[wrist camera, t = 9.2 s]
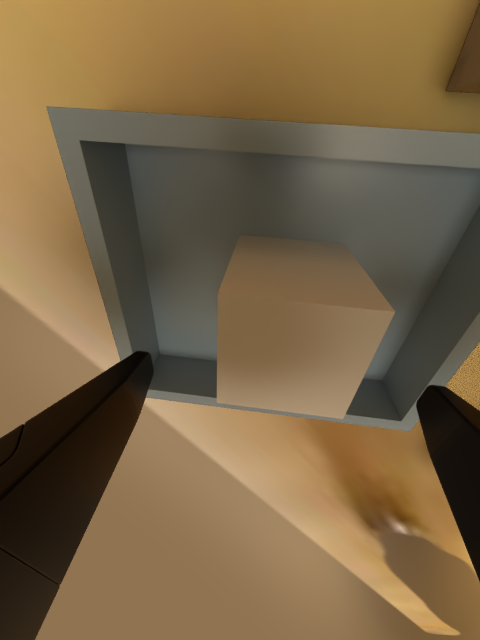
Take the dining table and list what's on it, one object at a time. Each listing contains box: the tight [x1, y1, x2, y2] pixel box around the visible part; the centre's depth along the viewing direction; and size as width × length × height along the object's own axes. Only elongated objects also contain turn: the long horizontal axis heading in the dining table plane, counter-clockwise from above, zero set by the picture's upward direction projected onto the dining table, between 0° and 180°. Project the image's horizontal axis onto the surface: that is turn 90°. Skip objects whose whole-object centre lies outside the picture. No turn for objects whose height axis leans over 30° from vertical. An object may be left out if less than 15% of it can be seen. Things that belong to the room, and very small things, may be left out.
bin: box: [46, 106, 480, 431], centre depth 13 cm, size 17×14×4 cm
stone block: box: [217, 235, 395, 419], centre depth 11 cm, size 5×5×6 cm
